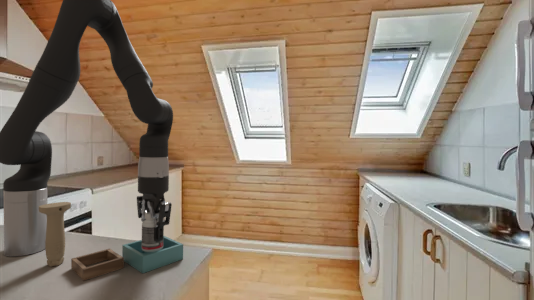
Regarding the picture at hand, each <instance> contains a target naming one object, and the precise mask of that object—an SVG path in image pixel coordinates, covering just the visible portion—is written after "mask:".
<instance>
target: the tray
mask: <svg viewBox="0 0 534 300" xmlns="http://www.w3.org/2000/svg"><path fill="white" fill-rule="evenodd" d="M121 251H122V255H121V256H122V257H123V258H124V263H126V264H128V265H129V266H131V267H132V268H133V269H135V270H136V271H137V272H140V273H141V274H146V273H149V272H151V271H154V270H157V269H159V268H162V267H164V266H168V265H170V264H174V263H176V262H178V261H181V260H183V259H184V243H181V242H179V241H177V240H175V239H172V238H171V237H170V238H169V237H167V236H166V235H164V236H163V248H162V249H161V250H159V251H155V252H144V251H143V250H142V239H140V240H136V241H132V242H128V243H125V244H122V250H121Z"/></svg>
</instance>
